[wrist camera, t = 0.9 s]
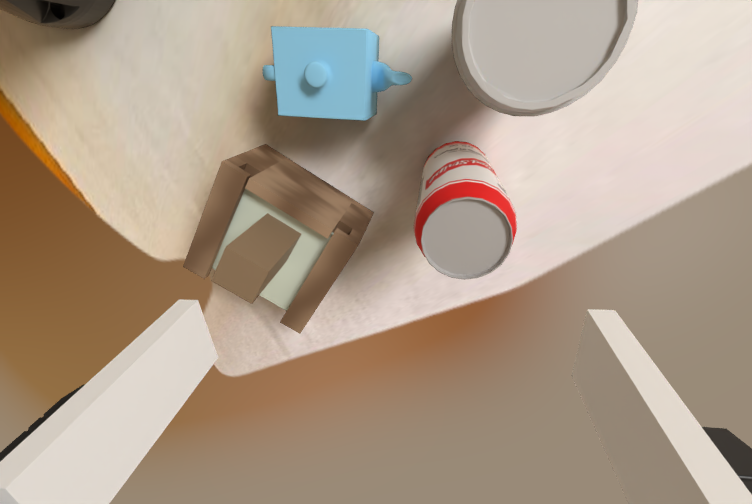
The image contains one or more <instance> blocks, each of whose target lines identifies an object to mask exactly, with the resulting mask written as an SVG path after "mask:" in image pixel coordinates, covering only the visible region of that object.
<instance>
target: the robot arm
mask: <svg viewBox="0 0 752 504" xmlns="http://www.w3.org/2000/svg"><path fill="white" fill-rule="evenodd" d="M113 2H114V0H0V9H2V10H4V11H6V12H8V13H10V14H12V15H15V16H17V17H19V18H21V19H24V20H26V21H29V22H32V23H35V24H39V25H43V26H51V27H58V28H66V29H77V28H83V27H87V26H89V25H92V24H93V23H95V22H97V21H98V20H100V19H101V18H102V17H103V16H104V15H105V14H106V13H107V11H108V10H109V9H110V7H111V6H112V4H113ZM217 359H218V355H217V352H216V349H215V346H214V344H213V341H212V338H211V335H210V332H209V330H208V327H207V324H206V321H205V319H204V316H203V313H202V310H201V307H200V305H199V302H198V300H178V301H177V302H176V303H175V304H174V305H173V306H172V307H171V308H169V309H168V310H167V311H166V312H165V313H164V314H163V315H162V316H160V317H159V318H158V319H157V320H156V321H155V322H154V323H153V324H152V325H151V326H149V327H148V328H147V329H146V330H145V331H144V332H143V333H142V334H141V335H140V336H138V338H136V339H135V340H134V341H133V342H132V343H131V344H130V345H128V346H127V347H126V348H125V349H124V350H123V351H122V352H121V353H120V354H119V355H117V356H116V357H115V358H114V359H113V360H112V361H111V362H110V363H109V364H107V365H106V366H105V367H104V368H103V369H102V370H101V371H100V372H99V373H98V374H96V375H95V376H94V377H93V378H92V379H91V380H90V381H89V382H88V383H87V384H85V385H82V386H81V387H79V388H77V389H76V390H74V391H73V392H71V393H69V394H68V395H66V396H65V397H63V398H62V399H60V400H59V401H58V402H57V403H56V404H55V405H54V406H53V407H51V408H50V409H49V410H48V411H47V412H46V413H45V414H44V417H42V418H39V419H38V420H37V421H36V422H34V423H33V424H32V425H31V426H30V427H29V429H28V431H24V432H23V433H22V434H21V435H20V436H19V437H18V438H16V439H15V440H14V441H13V442H12V443H11V444H10V445H9V446H7V447H6V448H5V449H4V450H3V451H2V452H1V453H0V504H109V503H110V502H111V500H112V499H113V498H114V496H115V495H116V494H117V492H118V491H119V490H120V488H121V487H122V486H123V484H124V483H125V482H126V480H127V479H128V478H129V476H130V475H131V474H132V472H133V471H134V470H135V468H136V467H137V466H138V464H139V463H140V462H141V460H142V459H143V457H144V456H145V455H146V453H147V452H148V451H149V450H150V448H151V447H152V446H153V444H154V443H155V442H156V440H157V439H158V437H159V436H160V435H161V434H162V432H163V431H164V429H165V428H166V427H167V425H168V424H169V423H170V421H171V420H172V419H173V417H174V416H175V415H176V413H177V412H178V411H179V409H180V408H181V407H182V405H183V404H184V403H185V401H186V400H187V399H188V397H189V396H190V395H191V393H192V392H193V391H194V389H195V388H196V387H197V385H198V384H199V383H200V381H201V380H202V379H203V377H204V376H205V375H206V373H207V372H208V371H209V369H210V368H211V367H212V365H213V364H214V363H215V361H216V360H217ZM572 377H573V380H574V382H575V384H576V387H577V389H578V391H579V393H580V396H581V398H582V400H583V402H584V404H585V407H586V409H587V411H588V414H589V416H590V418H591V420H592V423H593V425H594V427H595V429H596V432H597V434H598V436H599V438H600V441H601V443H602V445H603V447H604V450H605V452H606V454H607V456H608V459H609V461H610V463H611V465H612V468H613V470H614V472H615V474H616V477H617V479H618V481H619V483H620V486H621V488H622V490H623V492H624V495H625V497H626V499H627V501H628V504H752V449H751V448H750V447H749V446H748V445H746V444H745V443H744V442H742V441H741V440H740V439H738V438H737V437H736V436H735V435H734V434H732V433H731V432H730V431H728V430H727V429H722V428H708V427H701V426H700V425H699V423H698V422H697V420H696V419H695V418H694V416H693V415H692V414H691V412H690V411H689V410H688V408H687V407H686V406H685V404H684V403H683V402H682V400H681V399H680V397H679V396H678V395H677V393H676V392H675V391H674V389H673V388H672V387H671V385H670V384H669V383H668V381H667V380H666V379H665V377H664V376H663V375H662V373H661V372H660V371H659V369H658V368H657V366H656V365H655V364H654V362H652V360H651V358H650V357H649V356H648V354H647V353H646V352H645V350H644V349H643V348H642V346H641V345H640V343H639V342H638V341H637V340H636V338H635V337H634V335H633V334H632V333H631V331H630V330H629V329H628V327H627V326H626V325H625V323H624V322H623V321H622V319H621V318H620V317H619V315H618V314H617V312H616V311H615V310H587V313H586V317H585V321H584V326H583V330H582V334H581V339H580V343H579V348H578V351H577V356H576V360H575V364H574V369H573V373H572Z"/></svg>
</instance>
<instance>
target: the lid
mask: <svg viewBox="0 0 752 504" xmlns="http://www.w3.org/2000/svg"><path fill="white" fill-rule="evenodd" d="M333 234H334V233H333V232H332V233H331V235H330V236H329V238H328V239H327V238H326V237H324V236H322V235H321V234H319V233H317V232H316V231H314V230H313V229H311V228H309V227H308V226H306V225H304V224H303V223H301V222H300V221H298V220H296V219H295V218H293V217H291V216H290V215H288V214H286V213H285V212H283V211H282V210H280V209H278V208H277V207H275V206H273V205H272V204H270V203H268V202H267V201H265V200H264V199H262V198H260V197H259V196H257V195H255V194H254V193H252V192H250V191H249V190H247V189H246V188H245V190H244V193H243V195H242V197H241V200H240V202H239V205H238V207H237V209H236V212H235V214H234V216H233V219H232V221H231V223H230V226H229V228H228V231H227V233H226V235H225V238H224V240H223V242H222V245H221V247H220V249H219V252H218V254H217V257H216V259H215V261H214V264H213V266H212V268H213V269H215V270H216V271H215V273H214V275H213V278H212V280H211V281H213V282H215V283H216V284H218V285H220V286H222V287H223V288H225V289H227V290H229V291H230V292H232V293H234V294H236V295H237V296H239V297H241V298H243V299H244V300H246V301H248V302H250V303H251V304H252V303H253V302H254V301H255V299H256V298H257V297H258V296H259V295H260V296H261V297H263V298H265V299H267V300H268V301H270V302H272V303H274V304H275V305H277V306H279V307H280V308H282V309H284V310H286V311H287V310H288V308H289V307H290V305H291V303H292V302H293V300H294V298H295V297H296V295H297V293H298V292H299V290H300V288H301V287H302V285H303V283H304V282H305V280H306V278H307V277H308V275H309V273H310V272H311V270H312V268H313V267H314V265H315V264H316V262H317V260H318V259H319V257H320V255H321V254H322V252H323V250H324V249H325V247H326V245H327V244H328V242H329V240H330V239H331V237H332V235H333Z"/></svg>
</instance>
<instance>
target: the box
mask: <svg viewBox="0 0 752 504" xmlns="http://www.w3.org/2000/svg"><path fill="white" fill-rule="evenodd" d="M245 188H246V189H247V190H249V191H250V192H252V193H254V194H255V195H257V196H259V197H260V198H262V199H264V200H265V201H267V202H268V203H270V204H272V205H273V206H275V207H277V208H278V209H280V210H282V211H283V212H285V213H286V214H288V215H290V216H291V217H293V218H295V219H296V220H298V221H300V222H301V223H303V224H304V225H306V226H308V227H309V228H311V229H313V230H314V231H316V232H317V233H319V234H321V235H322V236H324V237H326V238H327V239H328V238H329V236H330V235H331V233H332V232H333V233H334V234H333V235H332V237H331V239H330V240H329V242H328V244H327V245H326V247H325V249H324V250H323V252H322V254H321V255H320V257H319V259H318V260H317V262H316V264H315V265H314V267H313V268H312V270H311V272H310V273H309V275H308V277H307V278H306V280H305V282H304V283H303V285H302V287H301V288H300V290H299V292H298V293H297V295H296V297H295V298H294V300H293V302H292V303H291V305H290V307H289V308H288V310H287V311H286V313H285V315H284V316H283V318H282V320H281V321H280V323H282V324H284V325H286V326H287V327H289V328H291V329H293V330H294V331H296V332H298V333H301V331H302V330H303V328H304V327H305V325H306V324H307V322H308V321H309V319H310V318H311V316H312V315H313V313H314V312H315V310H316V309H317V307H318V306H319V304H320V303H321V301H322V300H323V298H324V297H325V295H326V294H327V292H328V291H329V289H330V287H331V286H332V284H333V283H334V281H335V280H336V278H337V277H338V275H339V274H340V272H341V271H342V269H343V268H344V266H345V265H346V263H347V262H348V260H349V259H350V257H351V256H352V254H353V253H354V251H355V250H356V248H357V247H358V245H359V243H360V241H361V239H362V236H363V234H364V232H365V230H366V228H367V226H368V224H369V222H370V220H371V218H372V216H373V213H374V212H372V211H371V210H369V209H367V208H366V207H364V206H363V205H361V204H360V203H358V202H356V201H355V200H353V199H352V198H350V197H348V196H347V195H345V194H344V193H342V192H341V191H339V190H337V189H336V188H334V187H333V186H331V185H329V184H328V183H326V182H325V181H323V180H322V179H320V178H318V177H317V176H315V175H314V174H312V173H311V172H309V171H307V170H306V169H304V168H303V167H301V166H299V165H298V164H296V163H295V162H293V161H292V160H290V159H288V158H287V157H285V156H284V155H282V154H280V153H279V152H277V151H276V150H274V149H273V148H271V147H269V146H268V145H266V144H265V145H262V146H260V147H257V148H255V149H252V150H250V151H247V152H245V153H242V154H240V155H237V156H235V157H232V158H230V159H227V160H225V161H222V163H221V166H220V168H219V171H218V174H217V176H216V179H215V182H214V184H213V187H212V190H211V193H210V195H209V198H208V201H207V203H206V206H205V209H204V211H203V214H202V217H201V220H200V222H199V225H198V228H197V230H196V233H195V236H194V238H193V241H192V244H191V247H190V249H189V252H188V255H187V257H186V260H185V263H184V266H183V267H185V268H186V269H188V270H190V271H191V272H193V273H195V274H197V275H199V276H200V277H202V278H204V279H205V278H206V277H207V276H208V275H209V273H210V271H211V268H212V266H213V264H214V261H215V259H216V257H217V254H218V252H219V249H220V247H221V245H222V242H223V240H224V238H225V235H226V233H227V231H228V228H229V226H230V223H231V221H232V219H233V216H234V214H235V212H236V209H237V207H238V205H239V202H240V200H241V197H242V195H243V193H244V190H245Z"/></svg>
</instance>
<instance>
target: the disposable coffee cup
mask: <svg viewBox="0 0 752 504" xmlns="http://www.w3.org/2000/svg"><path fill="white" fill-rule="evenodd" d="M637 8H638V0H457V3H456V6H455V10H454V16H453V21H452V48H453V54H454V59H455V63H456V66H457V69H458V71H459V74H460V76H461V78H462V80H463V81H464V83H465V85H466V86H467V88H468V89H469V90H470V91H471V93H472V94H473V95H474V96H475V97H476V98H477V99H478V100H480V101H481V102H482V103H483V104H485V105H486V106H488V107H490V108H492V109H494V110H496V111H498V112H501V113H504V114H508V115H512V116H538V115H542V114H547V113H551V112H554V111H556V110H559V109H561V108H564V107H567V106H568V105H570V104H572V103H573V102H575V101H576V100H578V99H580V98H581V97H583V96H584V95H586V94H587V93H588V92H589V91H590V90H591V89H593V88H594V87H595V86H596V85H597V84H598V83H599V82H600V81H601V80H602V79H603V78H604V77H605V75H606V74H607V73H608V72H609V70H610V69H611V68H612V67H613V65H614V64H615V63H616V61H617V60H618V58H619V56H620V54H621V52H622V50H623V49H624V47H625V45H626V43H627V41H628V38H629V35H630V33H631V30H632V28H633V24H634V21H635V17H636V14H637Z"/></svg>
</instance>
